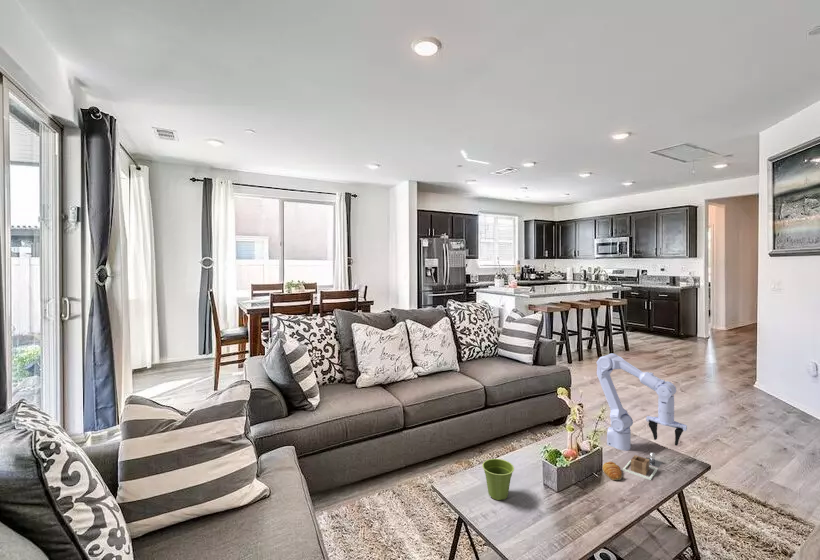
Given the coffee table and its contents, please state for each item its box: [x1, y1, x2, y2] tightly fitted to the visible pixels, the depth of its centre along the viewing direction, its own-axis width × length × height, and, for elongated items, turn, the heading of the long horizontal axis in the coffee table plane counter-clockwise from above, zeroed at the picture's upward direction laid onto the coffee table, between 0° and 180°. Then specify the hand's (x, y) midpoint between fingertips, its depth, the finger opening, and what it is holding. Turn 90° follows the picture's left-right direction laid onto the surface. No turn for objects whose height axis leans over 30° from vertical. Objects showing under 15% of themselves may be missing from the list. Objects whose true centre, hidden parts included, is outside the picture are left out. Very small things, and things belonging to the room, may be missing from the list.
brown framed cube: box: [630, 454, 650, 476], centre depth 159 cm, size 5×5×5 cm
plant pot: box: [481, 458, 515, 501], centre depth 146 cm, size 12×12×11 cm
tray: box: [622, 459, 658, 481], centre depth 159 cm, size 10×10×2 cm
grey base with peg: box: [645, 451, 663, 468], centre depth 164 cm, size 6×6×5 cm
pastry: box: [602, 461, 623, 481], centre depth 157 cm, size 9×7×4 cm
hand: (665, 441), depth 164 cm, fingers open, 7 cm apart
